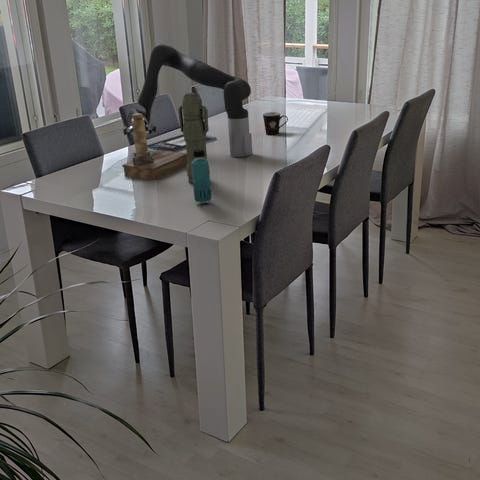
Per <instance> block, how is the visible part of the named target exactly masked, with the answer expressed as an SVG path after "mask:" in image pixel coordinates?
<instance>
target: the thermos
mask: <svg viewBox="0 0 480 480" xmlns="http://www.w3.org/2000/svg"><path fill="white" fill-rule="evenodd" d="M182 97H183V98H182V101H181V102H182V103H181V105H180V106H179V107H178V120H179V128H180V132H181V133H182V134H184V140H185V142H186V149H185V150H186V153H187V161H188V164H187V165H186V172H187V173H186V175H187V177H188V178H187V179H188V181H187V182H188V184H190V185H193V175H192V165H191V162H192V161H193V160H194V159H196V158H205V159H206V160H208V153H207V143H206V135H207V133H208V132H209V131H210V130H209V129H210V128H209V115H208V114H209V113H208V109H207V107H206V105H205V106H204V105H203V100H202V98H201V95H200V94H199V93H197V92H188V93H187V92H186V93H185V94H183V96H182ZM183 116H184V117H183ZM196 149H203V150H204V153H205V156H203V157H194V156H193V151H194V150H196ZM208 165H209V166H210V164H209V163H208ZM210 174H211V173H209V175H210Z"/></svg>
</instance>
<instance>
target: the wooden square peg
mask: <svg viewBox="0 0 480 480" xmlns="http://www.w3.org/2000/svg"><path fill="white" fill-rule="evenodd" d="M132 126H133V134H132V135H133V142H134V148H135V153H136V157H142V156H148V152H149V151H148V150H149V149H148V148H147V145H148V141H147V133H146V131H145V123H144V118H143V116H142V114H133V119H132Z"/></svg>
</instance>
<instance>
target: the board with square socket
mask: <svg viewBox="0 0 480 480" xmlns="http://www.w3.org/2000/svg"><path fill="white" fill-rule="evenodd" d="M187 164H188V161H187V152H182V151H179V152H171V151H161V150H154V151H151V150H149V151H148V156H142V157H136V152H132V160H131V161H129V162H126V163H123V164H122V165H121V166H122V168H123V174H124V177H128V178H136V179H145V180H150V181H155V180H157V179H160V178H162V177H164V176H167V175H170V173H172V172H175V171H177V170H179V169H181V168H184V167H187Z"/></svg>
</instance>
